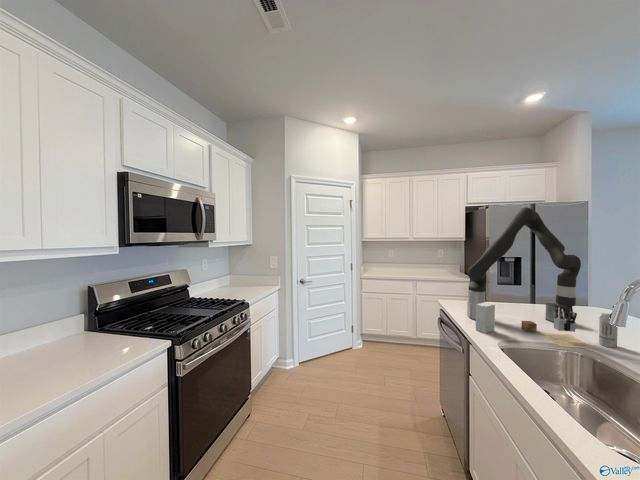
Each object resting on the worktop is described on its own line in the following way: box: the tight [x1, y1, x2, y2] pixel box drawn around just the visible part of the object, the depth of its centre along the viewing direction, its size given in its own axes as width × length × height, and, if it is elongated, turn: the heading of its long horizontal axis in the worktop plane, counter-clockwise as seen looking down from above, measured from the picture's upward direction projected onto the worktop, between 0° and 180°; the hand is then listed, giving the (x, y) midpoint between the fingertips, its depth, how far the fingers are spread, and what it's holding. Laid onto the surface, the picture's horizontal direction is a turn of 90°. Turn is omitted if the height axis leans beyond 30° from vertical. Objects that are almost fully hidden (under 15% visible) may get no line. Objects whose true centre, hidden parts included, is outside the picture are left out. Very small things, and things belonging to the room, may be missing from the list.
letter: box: [539, 332, 596, 350], centre depth 139 cm, size 14×18×1 cm
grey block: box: [553, 318, 577, 333], centre depth 139 cm, size 7×4×5 cm, turn 77°
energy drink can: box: [598, 312, 618, 349], centre depth 132 cm, size 6×6×15 cm
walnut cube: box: [521, 320, 538, 334], centre depth 152 cm, size 5×5×5 cm
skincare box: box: [475, 301, 496, 334], centre depth 153 cm, size 8×6×15 cm
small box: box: [545, 302, 568, 324], centre depth 166 cm, size 11×6×10 cm, turn 179°
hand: (564, 328), depth 139 cm, fingers closed on grey block, 4 cm apart
